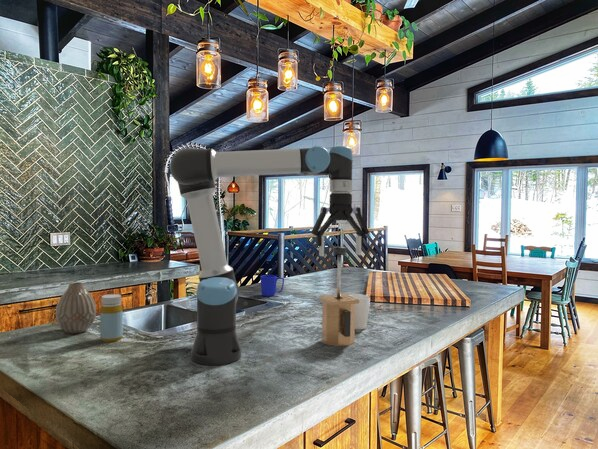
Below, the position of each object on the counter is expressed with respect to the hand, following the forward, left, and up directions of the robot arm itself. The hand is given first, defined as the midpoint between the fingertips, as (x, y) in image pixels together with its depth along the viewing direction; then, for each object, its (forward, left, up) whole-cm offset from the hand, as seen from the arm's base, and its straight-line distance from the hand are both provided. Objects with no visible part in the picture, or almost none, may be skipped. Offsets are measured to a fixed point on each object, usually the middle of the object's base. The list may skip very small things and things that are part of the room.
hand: (340, 255), depth 151 cm
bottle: (-74, +23, -30) cm, 83 cm away
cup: (+14, +14, -30) cm, 36 cm away
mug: (-3, +79, -30) cm, 85 cm away
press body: (0, -1, -30) cm, 30 cm away
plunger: (0, 0, -18) cm, 18 cm away
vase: (-87, +37, -30) cm, 99 cm away
